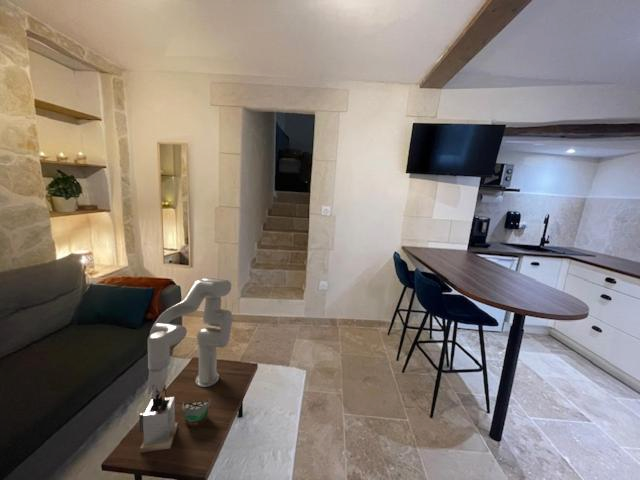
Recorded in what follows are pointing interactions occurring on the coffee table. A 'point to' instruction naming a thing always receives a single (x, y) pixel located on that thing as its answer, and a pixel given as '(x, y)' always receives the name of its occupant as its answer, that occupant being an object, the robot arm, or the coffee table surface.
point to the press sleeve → (158, 422)
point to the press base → (160, 446)
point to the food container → (196, 413)
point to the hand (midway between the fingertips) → (159, 401)
